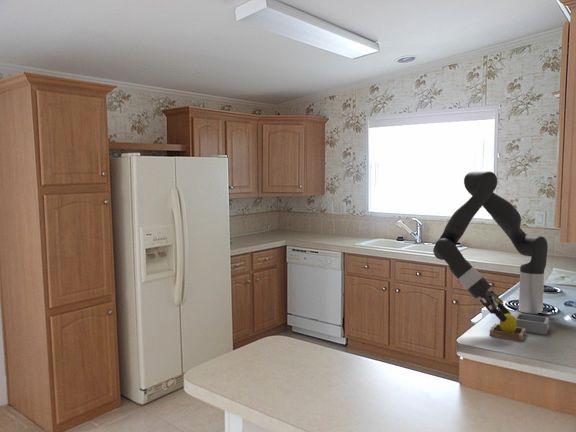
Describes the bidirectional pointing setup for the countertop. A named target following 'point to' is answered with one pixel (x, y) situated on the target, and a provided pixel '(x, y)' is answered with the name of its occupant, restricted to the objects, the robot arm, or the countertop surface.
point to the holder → (533, 323)
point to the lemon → (508, 324)
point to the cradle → (508, 335)
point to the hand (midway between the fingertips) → (507, 318)
